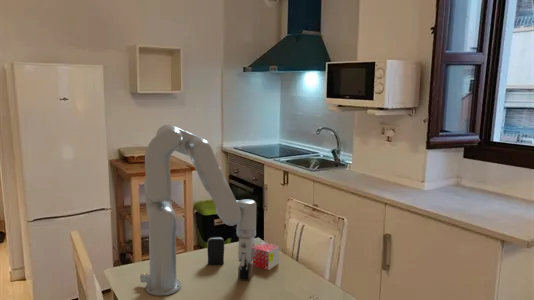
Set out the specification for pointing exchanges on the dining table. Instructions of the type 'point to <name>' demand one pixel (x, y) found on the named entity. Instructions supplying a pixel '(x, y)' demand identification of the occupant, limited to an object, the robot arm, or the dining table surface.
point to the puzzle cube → (266, 256)
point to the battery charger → (215, 250)
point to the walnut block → (250, 267)
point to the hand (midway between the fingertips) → (245, 275)
